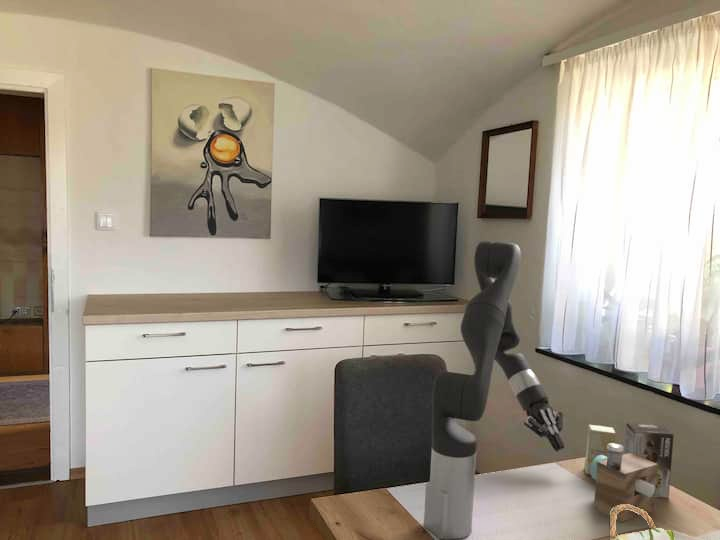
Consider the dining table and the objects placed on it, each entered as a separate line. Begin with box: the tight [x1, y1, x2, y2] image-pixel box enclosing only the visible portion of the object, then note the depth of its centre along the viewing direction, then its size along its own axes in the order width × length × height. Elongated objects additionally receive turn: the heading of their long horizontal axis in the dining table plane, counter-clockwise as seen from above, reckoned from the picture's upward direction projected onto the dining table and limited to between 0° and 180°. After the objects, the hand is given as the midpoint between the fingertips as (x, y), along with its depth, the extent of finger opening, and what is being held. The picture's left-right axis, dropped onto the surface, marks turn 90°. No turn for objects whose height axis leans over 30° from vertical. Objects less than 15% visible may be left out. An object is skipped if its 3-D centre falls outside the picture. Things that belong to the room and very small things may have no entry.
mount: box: [593, 453, 658, 522], centre depth 134 cm, size 12×7×11 cm, turn 120°
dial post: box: [607, 443, 625, 470], centre depth 131 cm, size 3×3×5 cm
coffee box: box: [624, 422, 675, 499], centre depth 143 cm, size 9×6×16 cm
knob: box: [590, 455, 655, 497], centre depth 134 cm, size 6×14×6 cm, turn 30°
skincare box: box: [583, 424, 616, 476], centre depth 153 cm, size 6×4×12 cm
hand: (560, 449), depth 150 cm, fingers closed
